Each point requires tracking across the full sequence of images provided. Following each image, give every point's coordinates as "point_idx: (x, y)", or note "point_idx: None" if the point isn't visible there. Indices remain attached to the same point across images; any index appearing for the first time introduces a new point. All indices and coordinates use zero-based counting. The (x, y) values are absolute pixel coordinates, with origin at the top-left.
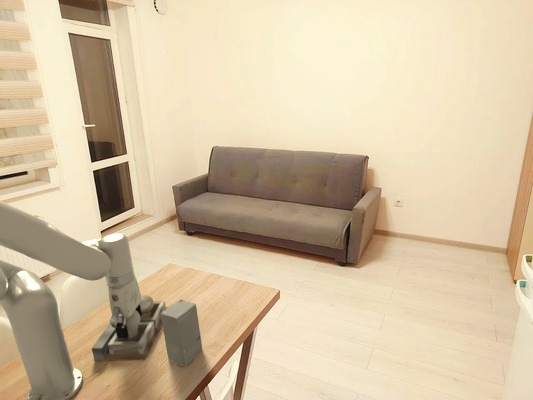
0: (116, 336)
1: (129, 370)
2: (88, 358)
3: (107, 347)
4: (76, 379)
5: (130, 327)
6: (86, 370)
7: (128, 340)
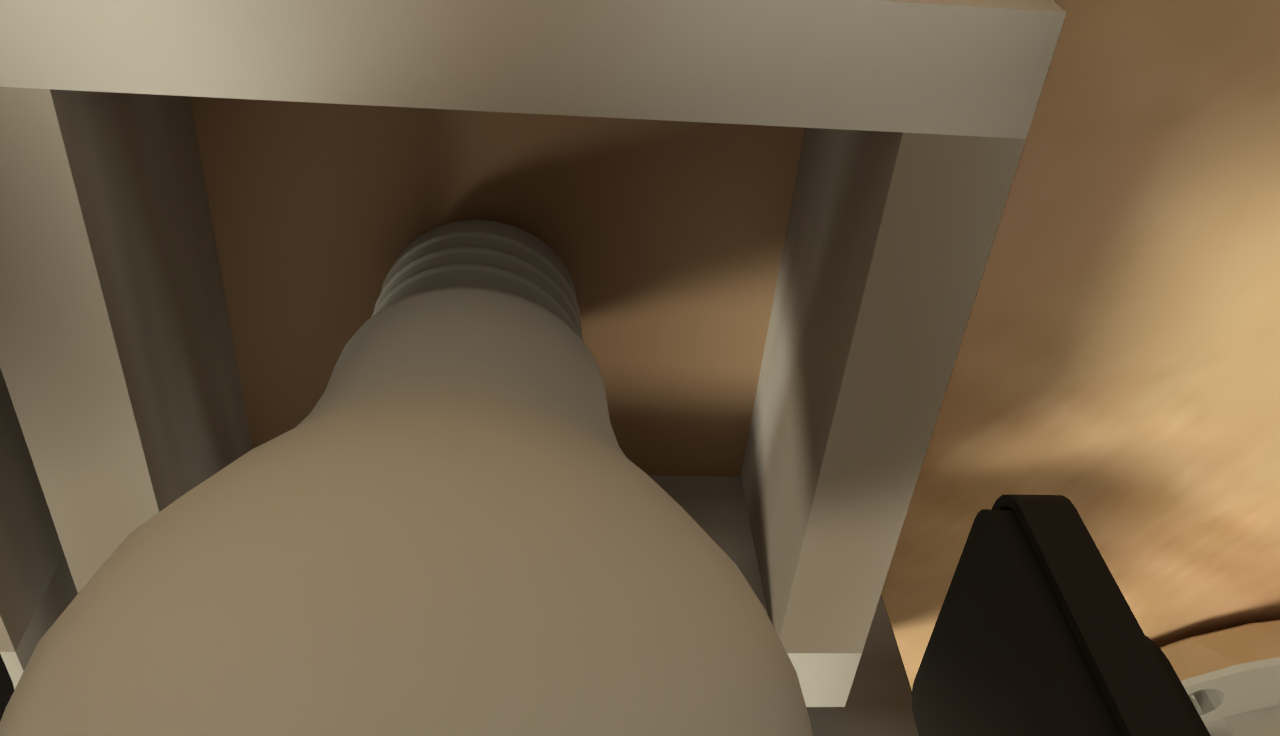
0: None
1: (1264, 77)
2: None
3: None
4: (1223, 711)
5: (772, 627)
6: None
7: None
